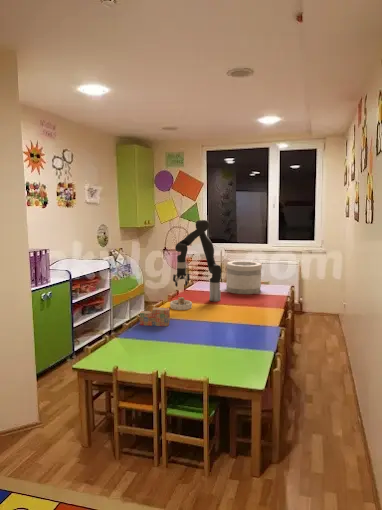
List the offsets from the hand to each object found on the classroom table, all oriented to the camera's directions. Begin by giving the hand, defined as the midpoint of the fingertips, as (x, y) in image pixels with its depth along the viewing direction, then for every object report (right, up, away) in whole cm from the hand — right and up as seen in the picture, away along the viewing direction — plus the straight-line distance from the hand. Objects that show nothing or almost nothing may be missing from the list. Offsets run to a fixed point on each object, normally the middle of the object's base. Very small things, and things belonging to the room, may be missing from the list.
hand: (181, 286), depth 355 cm
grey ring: (0, -18, +3) cm, 18 cm away
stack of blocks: (-18, -25, -46) cm, 55 cm away
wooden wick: (0, -17, +2) cm, 17 cm away
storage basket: (+61, -10, +70) cm, 94 cm away
